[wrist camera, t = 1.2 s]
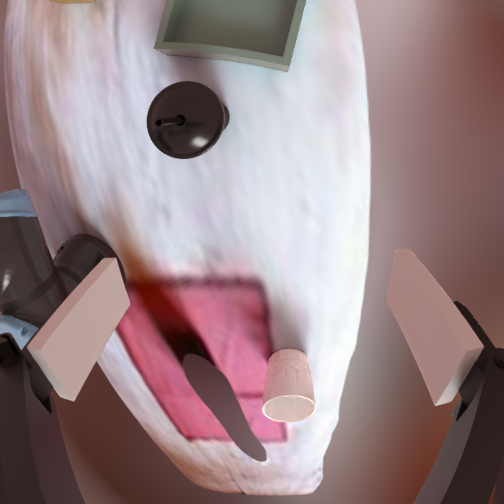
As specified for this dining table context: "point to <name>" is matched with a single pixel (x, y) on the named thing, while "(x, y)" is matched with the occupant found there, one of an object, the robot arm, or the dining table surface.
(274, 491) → the dining table surface
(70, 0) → the cheese
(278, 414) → the white cup
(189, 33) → the grey-green shallow box
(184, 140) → the drinking cup
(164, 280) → the dining table surface
